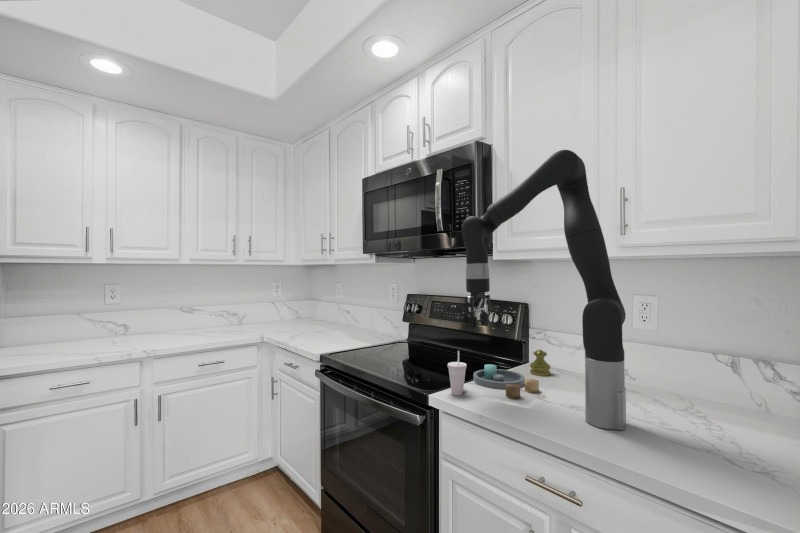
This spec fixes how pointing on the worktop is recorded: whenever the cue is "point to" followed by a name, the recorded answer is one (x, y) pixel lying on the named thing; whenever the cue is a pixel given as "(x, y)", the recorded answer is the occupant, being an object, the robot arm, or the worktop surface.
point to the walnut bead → (512, 391)
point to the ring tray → (499, 379)
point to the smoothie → (457, 376)
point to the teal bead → (489, 371)
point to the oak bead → (531, 386)
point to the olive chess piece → (540, 364)
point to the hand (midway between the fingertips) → (478, 327)
